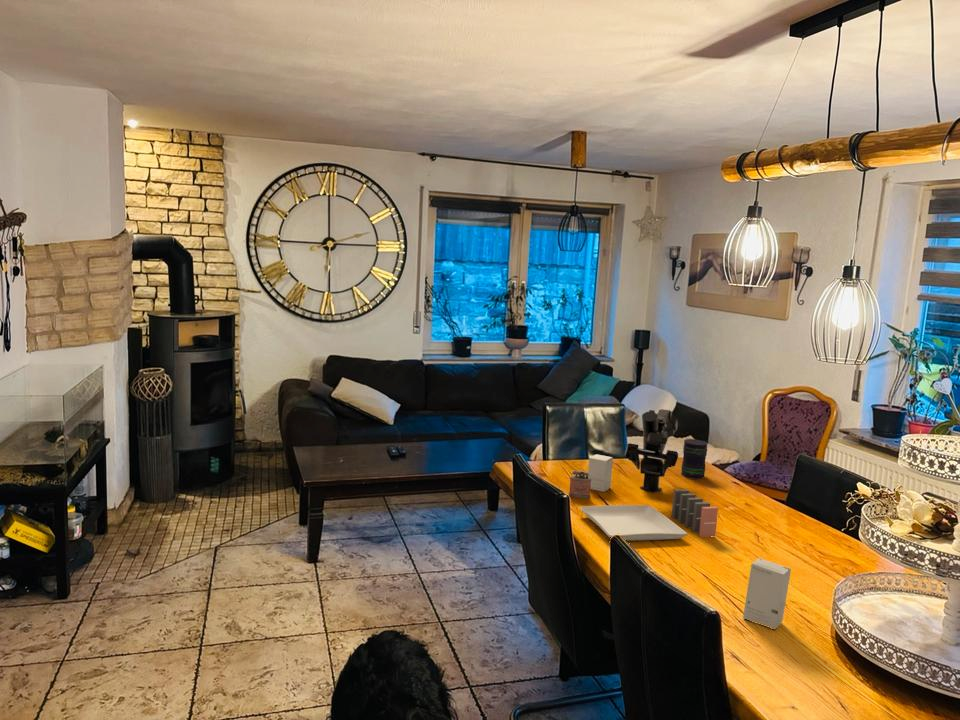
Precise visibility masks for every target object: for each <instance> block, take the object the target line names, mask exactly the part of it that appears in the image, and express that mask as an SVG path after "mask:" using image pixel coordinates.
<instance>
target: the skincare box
mask: <svg viewBox="0 0 960 720" xmlns="http://www.w3.org/2000/svg"><path fill="white" fill-rule="evenodd" d="M791 571H792V569H791V568H790V567H787V566H784V565H781V564H778V563H777V562H776V563H775V562H773V561H769V560H766V559H763V558H760V557H759V558H757V559H756V560H755V561H753V562H752V563H751V566H750V572H749V577H748V578H749V579H748V583H747V584H748V585H747V591H746V596H745V601H744V602H745V603H744V610H743V615H742V618H743V620H744V619H747V620H751V621H754V622H757V623H760V624H763V625H766V626H769V627H771V628H773V629H776V628H777V627H778V626H779V625H780V624H781V622H782V623H783V619H784V614H785V609H786V608H785V607H786V603H787V595H788V591H789V590H788V589H789V583H790V578H791V577H790V576H791V573H792V572H791ZM747 620H746V621H747ZM781 625H782V624H781ZM781 625H780V626H781ZM780 626H779V627H780ZM779 627H778V628H779ZM778 628H777V629H778ZM777 629H776V630H777Z"/></svg>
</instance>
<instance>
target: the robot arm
mask: <svg viewBox="0 0 960 720" xmlns="http://www.w3.org/2000/svg"><path fill="white" fill-rule="evenodd" d="M655 411H656V410H652V409H649V411H646V412H644V413H642V414H641V421H642V422H641V423H642V424H641V425H642V430H643V432H642V433H643V434H642V435H643V437H642V438H643V439H642V440H643V441H642V443H643V446H642V448H640V447H639V444H635V443H630V442H629V443H627V445H626V449H625V451H624V457H625V459H628V460H629V461H630V462H632V463H633V465H634V466H635V467H636V469H637V470H638V471H639V472H640V474H644V475H643V477H644V478H643V485H641V486H639V488H640V489H642V490H645V491H648V492H651V493H656V492H658V491H661V490H662V489H663V487H660V478H662V477H665V475H666V472H667V470H668V469H669V468H672V467H675V466H676V464H677V461H678V459H679V453H678V451H677V450H676V451H675V450H669V449H667V450H666V453H664V450H665V447H666V445H667V442H668V440H669V438H671V437H673V436H674V435H675V432H676V431H677V430H678V428H679V427H678V426H679V423H678V418H677V417H676V416H675V415H674V414H673V412H672V410H669V409H663V408H662V409H661V408H660V409H659V410H658V412H657V413H656V412H655ZM640 456H642V458H641V460H640Z"/></svg>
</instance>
